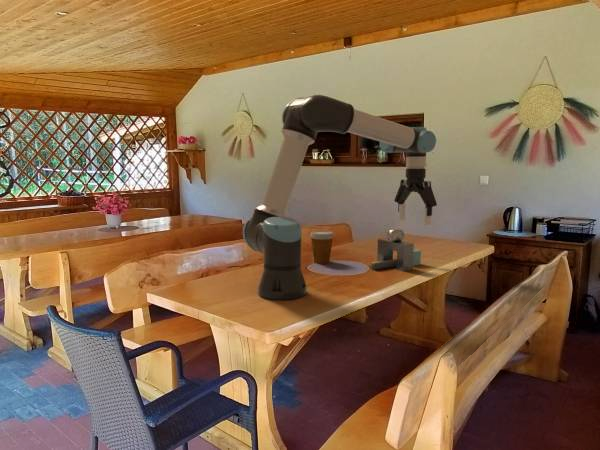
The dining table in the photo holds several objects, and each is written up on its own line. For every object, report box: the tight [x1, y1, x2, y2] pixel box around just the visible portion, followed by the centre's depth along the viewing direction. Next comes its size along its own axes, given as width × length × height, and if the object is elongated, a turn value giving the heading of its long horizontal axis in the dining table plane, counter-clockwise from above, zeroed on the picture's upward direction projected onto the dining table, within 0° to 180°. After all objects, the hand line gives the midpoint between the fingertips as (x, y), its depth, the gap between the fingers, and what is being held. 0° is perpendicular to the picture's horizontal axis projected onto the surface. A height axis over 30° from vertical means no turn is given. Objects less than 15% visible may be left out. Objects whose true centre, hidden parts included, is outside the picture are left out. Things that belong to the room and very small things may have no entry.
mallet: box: [370, 249, 422, 271], centre depth 190 cm, size 22×6×6 cm, turn 122°
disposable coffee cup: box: [309, 230, 335, 264], centre depth 197 cm, size 10×10×12 cm
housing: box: [376, 228, 415, 272], centre depth 189 cm, size 5×14×14 cm, turn 32°
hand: (414, 222), depth 193 cm, fingers open, 13 cm apart
